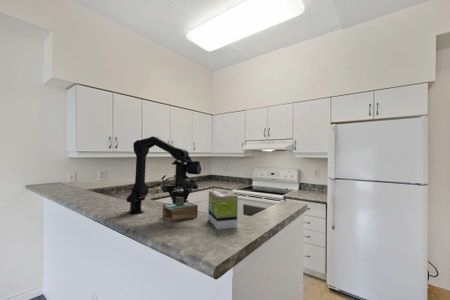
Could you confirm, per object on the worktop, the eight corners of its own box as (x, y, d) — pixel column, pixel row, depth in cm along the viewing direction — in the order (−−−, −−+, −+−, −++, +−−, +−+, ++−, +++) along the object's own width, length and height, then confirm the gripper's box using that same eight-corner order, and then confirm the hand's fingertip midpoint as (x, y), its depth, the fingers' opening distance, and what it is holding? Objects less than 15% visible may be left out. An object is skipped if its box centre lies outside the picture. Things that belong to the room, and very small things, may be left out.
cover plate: (164, 207, 105) (165, 197, 105) (184, 204, 113) (184, 195, 113) (173, 211, 98) (174, 200, 98) (194, 207, 107) (194, 197, 107)
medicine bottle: (175, 213, 112) (176, 191, 113) (171, 210, 118) (172, 190, 119) (187, 212, 116) (188, 191, 117) (183, 209, 122) (183, 189, 123)
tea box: (207, 220, 103) (208, 190, 104) (225, 218, 106) (226, 190, 107) (216, 230, 89) (217, 195, 89) (237, 227, 92) (238, 195, 93)
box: (162, 217, 105) (162, 204, 105) (185, 212, 114) (185, 201, 115) (173, 222, 97) (174, 208, 97) (197, 217, 107) (197, 205, 107)
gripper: (172, 175, 94) (171, 209, 93) (204, 174, 107) (203, 204, 106) (161, 173, 102) (160, 205, 101) (192, 172, 115) (191, 200, 114)
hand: (179, 203), depth 106 cm, fingers open, 6 cm apart
